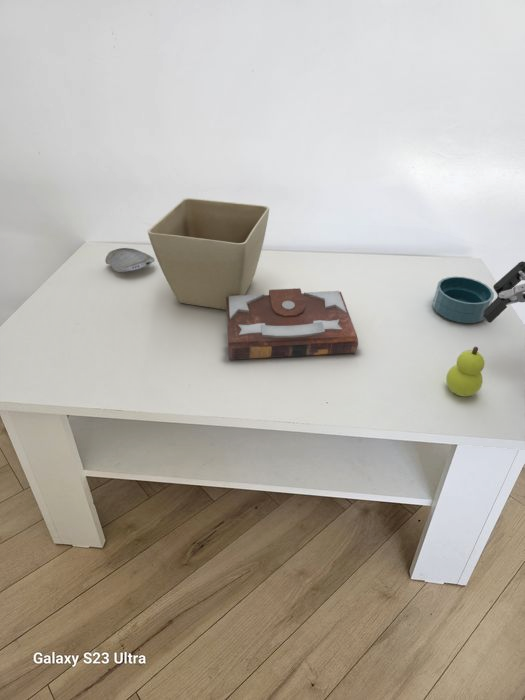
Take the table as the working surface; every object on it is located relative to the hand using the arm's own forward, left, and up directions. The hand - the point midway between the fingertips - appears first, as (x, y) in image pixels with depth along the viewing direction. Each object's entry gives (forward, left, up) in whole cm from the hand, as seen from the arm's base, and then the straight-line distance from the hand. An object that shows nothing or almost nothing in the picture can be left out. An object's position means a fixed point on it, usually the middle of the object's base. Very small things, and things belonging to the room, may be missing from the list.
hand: (506, 334), depth 72 cm
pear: (+2, +5, -10) cm, 12 cm away
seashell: (+77, +18, -10) cm, 80 cm away
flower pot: (+55, +11, -10) cm, 57 cm away
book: (+34, +12, -10) cm, 37 cm away
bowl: (+13, -18, -10) cm, 24 cm away
